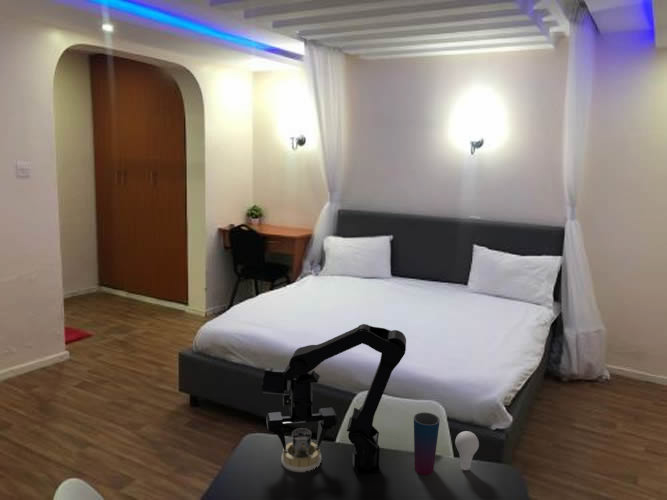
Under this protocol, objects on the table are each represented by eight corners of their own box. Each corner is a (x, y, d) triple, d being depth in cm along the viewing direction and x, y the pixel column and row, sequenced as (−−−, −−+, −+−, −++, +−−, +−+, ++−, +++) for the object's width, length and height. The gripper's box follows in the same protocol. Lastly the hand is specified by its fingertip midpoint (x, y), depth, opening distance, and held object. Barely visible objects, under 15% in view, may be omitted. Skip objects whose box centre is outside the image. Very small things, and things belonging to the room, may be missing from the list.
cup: (416, 478, 146) (419, 426, 143) (407, 463, 153) (410, 413, 150) (440, 475, 148) (443, 423, 145) (431, 461, 154) (433, 411, 151)
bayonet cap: (313, 461, 151) (313, 438, 149) (293, 463, 150) (293, 440, 148) (309, 449, 157) (309, 426, 155) (290, 451, 156) (290, 428, 154)
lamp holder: (317, 447, 160) (317, 436, 159) (324, 470, 149) (324, 457, 149) (279, 451, 158) (279, 439, 157) (283, 474, 147) (283, 462, 146)
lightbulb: (477, 477, 147) (480, 439, 145) (453, 474, 148) (456, 437, 146) (476, 464, 153) (478, 428, 150) (453, 461, 154) (455, 425, 152)
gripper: (329, 379, 159) (329, 429, 162) (264, 384, 155) (264, 435, 159) (337, 397, 148) (337, 450, 152) (267, 403, 145) (268, 457, 148)
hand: (301, 447), depth 153 cm, fingers open, 9 cm apart
